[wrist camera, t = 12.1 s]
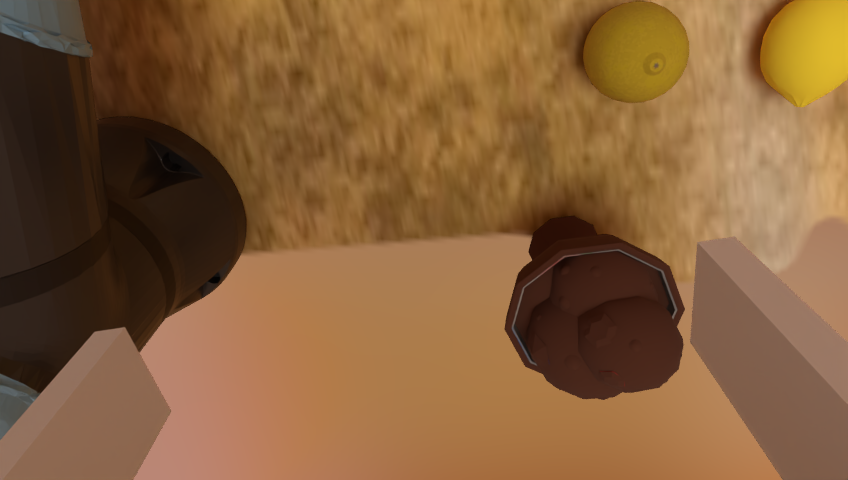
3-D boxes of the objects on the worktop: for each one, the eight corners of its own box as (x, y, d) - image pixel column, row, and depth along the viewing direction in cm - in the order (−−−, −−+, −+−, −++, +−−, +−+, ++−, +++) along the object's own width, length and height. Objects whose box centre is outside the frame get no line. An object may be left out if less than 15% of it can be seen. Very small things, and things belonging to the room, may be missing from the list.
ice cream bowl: (539, 159, 39) (588, 265, 26) (664, 223, 41) (769, 351, 28) (469, 270, 43) (479, 408, 30) (584, 322, 45) (641, 473, 32)
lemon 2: (756, -14, 34) (811, -23, 29) (843, -12, 33) (914, -22, 28) (731, 101, 36) (779, 111, 31) (813, 103, 36) (874, 113, 31)
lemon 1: (581, -8, 34) (618, 2, 27) (669, 1, 34) (728, 13, 27) (563, 82, 36) (591, 113, 29) (644, 90, 36) (692, 122, 29)
